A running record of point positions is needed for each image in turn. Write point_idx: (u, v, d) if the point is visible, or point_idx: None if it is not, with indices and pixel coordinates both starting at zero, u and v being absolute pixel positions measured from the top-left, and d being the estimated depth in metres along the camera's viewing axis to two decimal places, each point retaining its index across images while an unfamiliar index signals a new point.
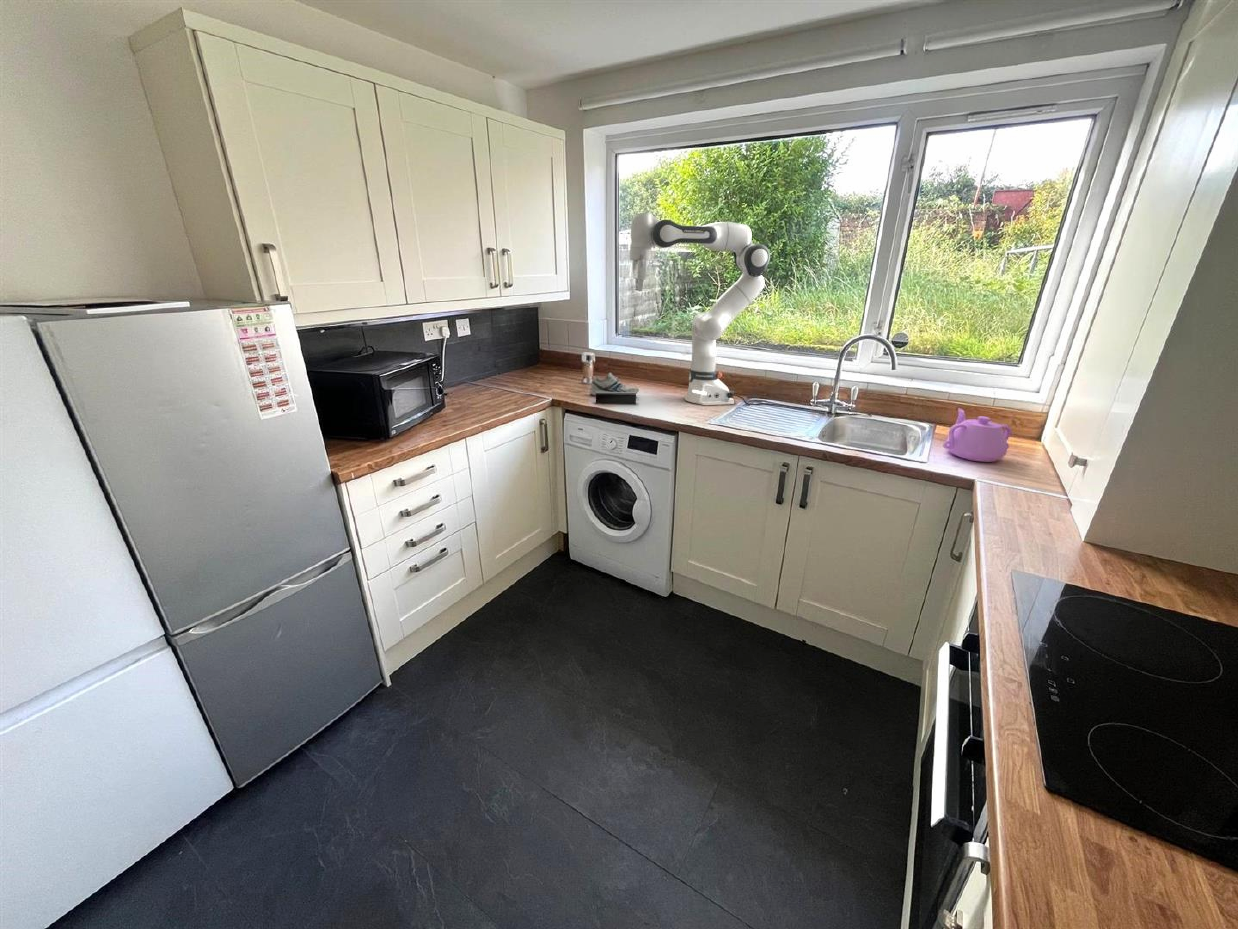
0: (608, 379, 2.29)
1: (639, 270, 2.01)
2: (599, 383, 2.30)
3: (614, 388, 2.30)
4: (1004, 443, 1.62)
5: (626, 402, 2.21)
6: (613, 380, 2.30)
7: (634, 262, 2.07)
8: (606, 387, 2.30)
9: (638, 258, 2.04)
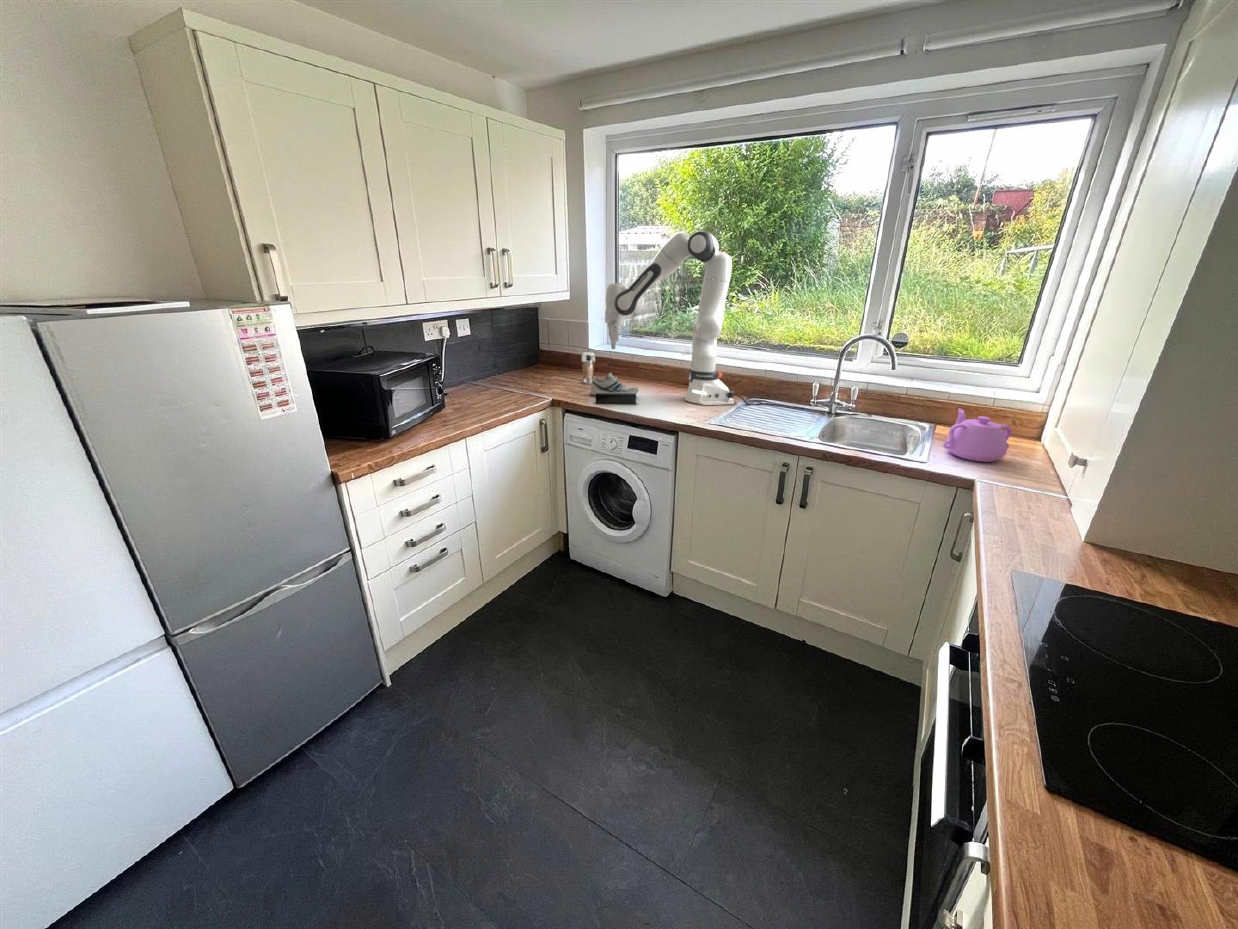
0: (608, 379, 2.29)
1: (612, 333, 2.28)
2: (599, 383, 2.30)
3: (614, 388, 2.30)
4: (1004, 443, 1.62)
5: (626, 402, 2.21)
6: (613, 380, 2.30)
7: (608, 325, 2.35)
8: (605, 387, 2.30)
9: (612, 322, 2.32)
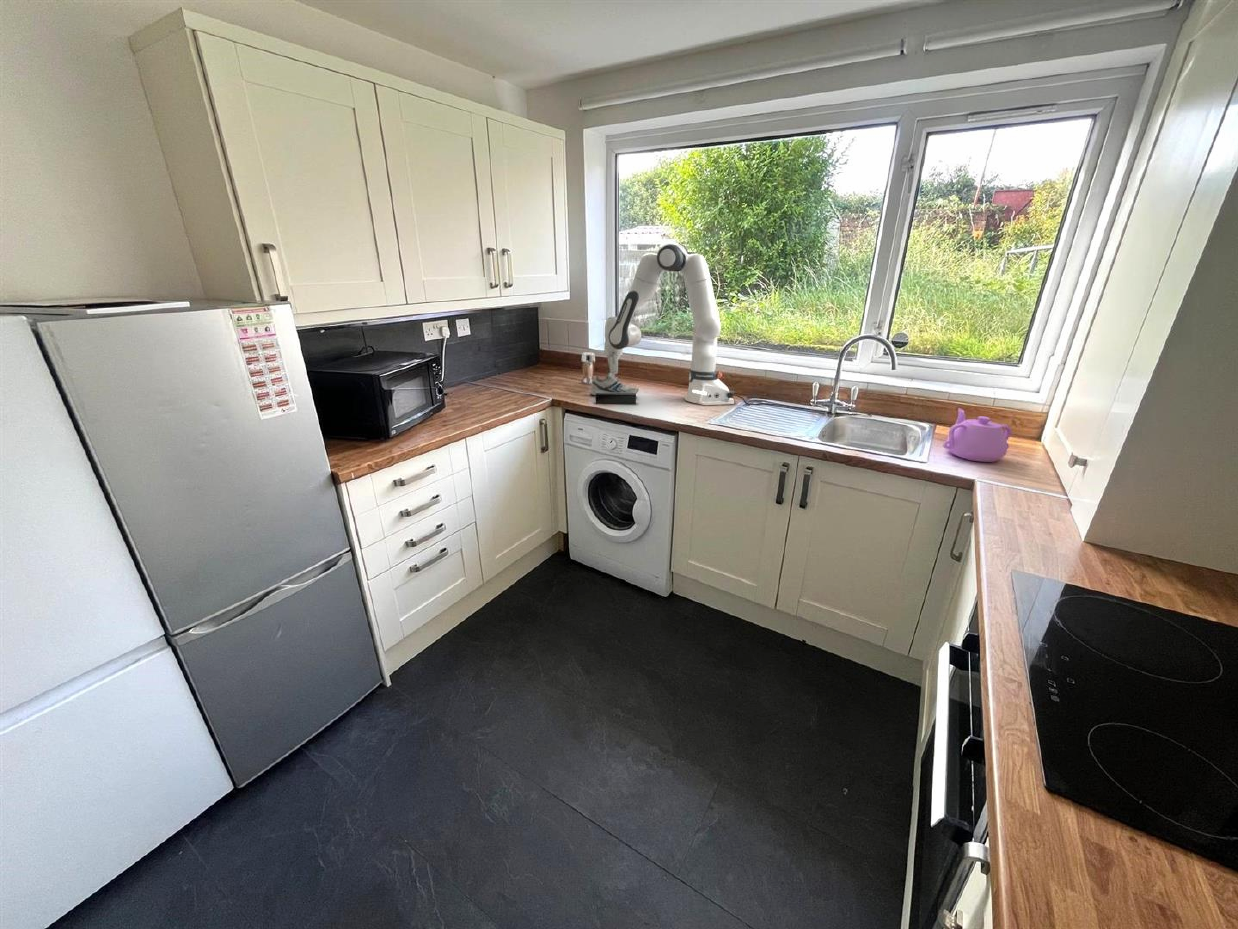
0: (608, 379, 2.29)
1: (611, 366, 2.33)
2: (599, 383, 2.30)
3: (614, 388, 2.30)
4: (1004, 443, 1.62)
5: (626, 402, 2.21)
6: (613, 380, 2.30)
7: (608, 357, 2.39)
8: (605, 387, 2.30)
9: (611, 354, 2.37)
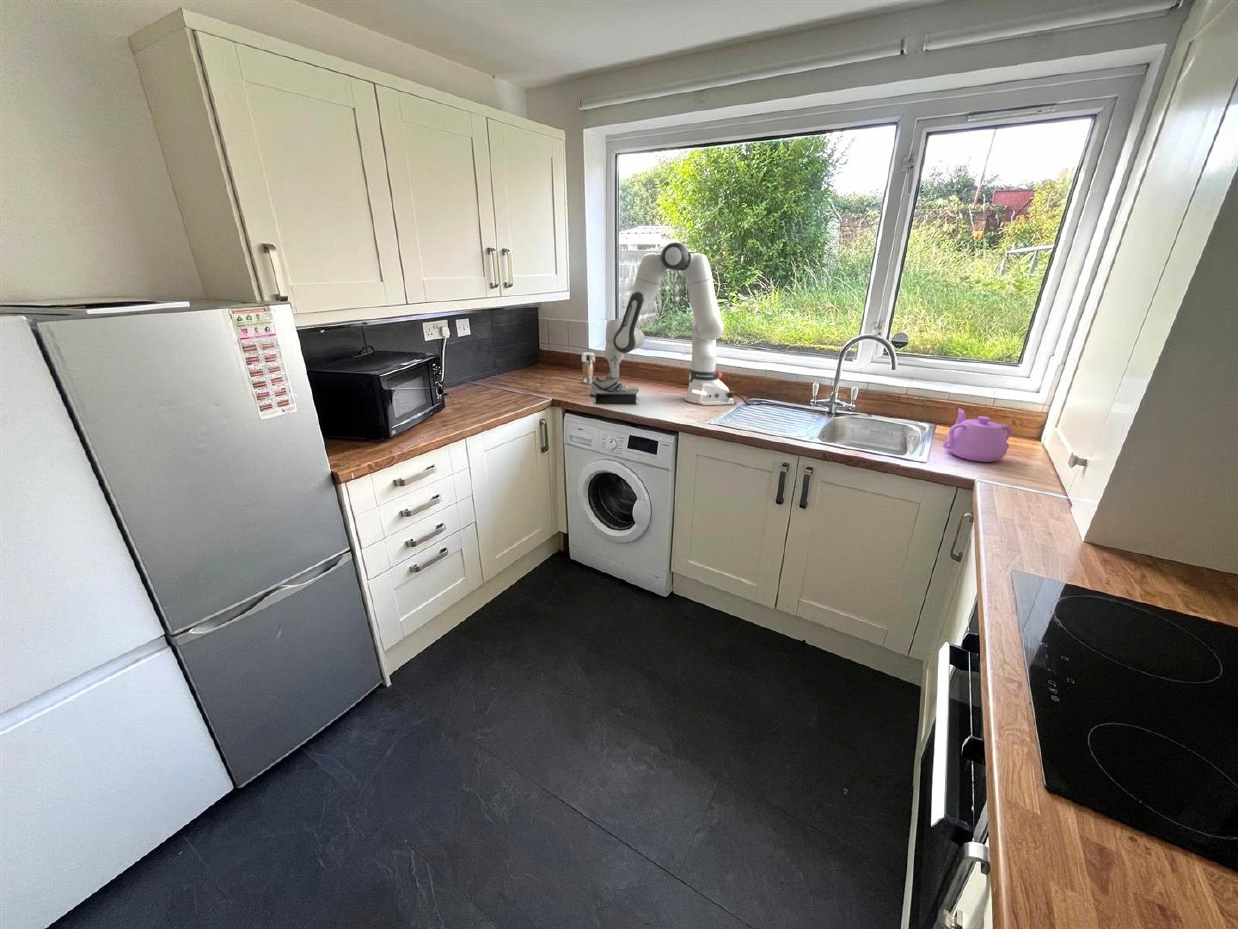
0: (608, 379, 2.29)
1: (612, 370, 2.26)
2: (599, 383, 2.30)
3: (614, 388, 2.29)
4: (1004, 443, 1.62)
5: (626, 402, 2.21)
6: (613, 380, 2.29)
7: (609, 361, 2.33)
8: (605, 388, 2.30)
9: (612, 358, 2.30)
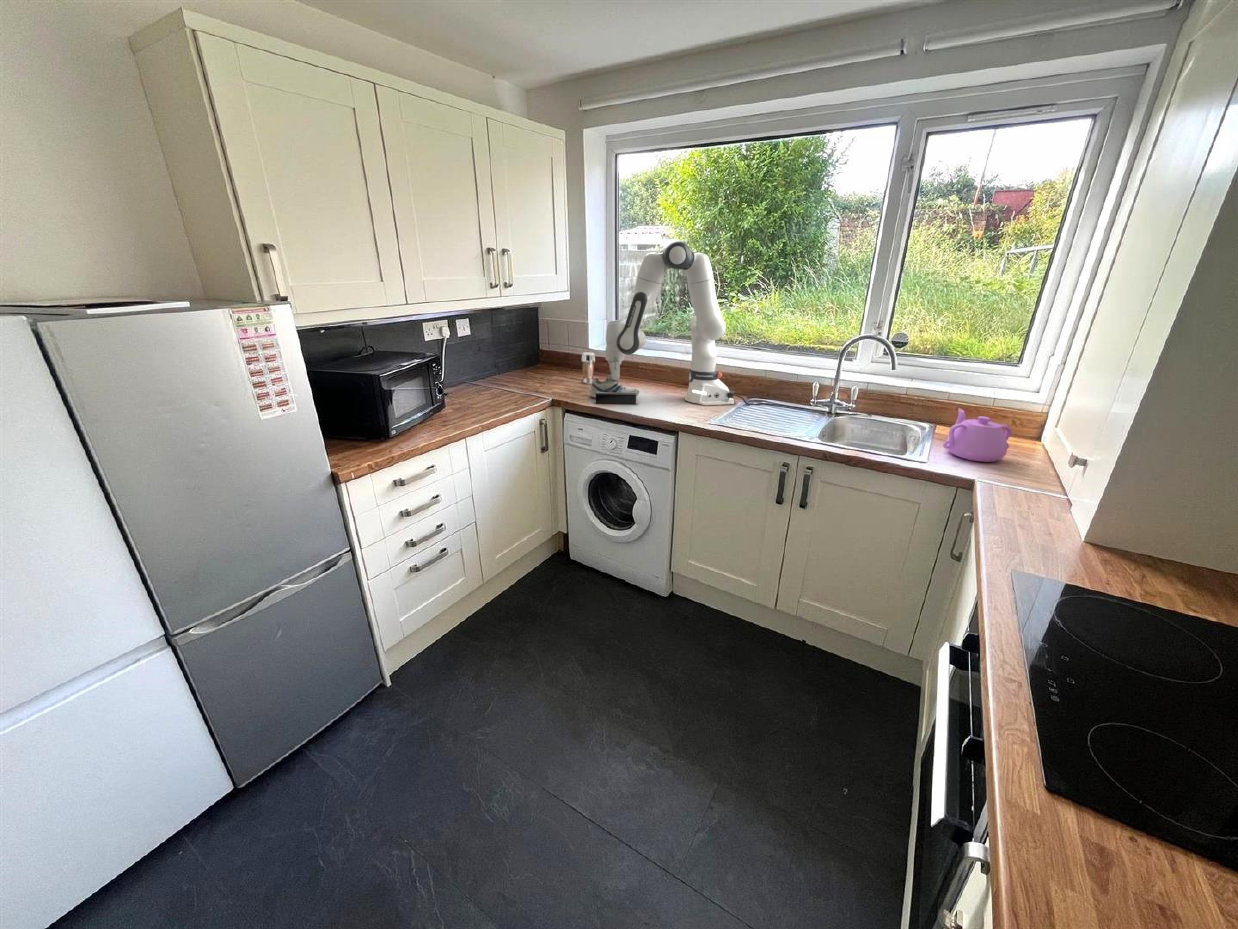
0: (608, 381, 2.25)
1: (613, 372, 2.22)
2: (599, 385, 2.26)
3: (614, 390, 2.25)
4: (1004, 443, 1.62)
5: (626, 402, 2.21)
6: (613, 382, 2.25)
7: (609, 362, 2.29)
8: (605, 390, 2.26)
9: (612, 360, 2.26)
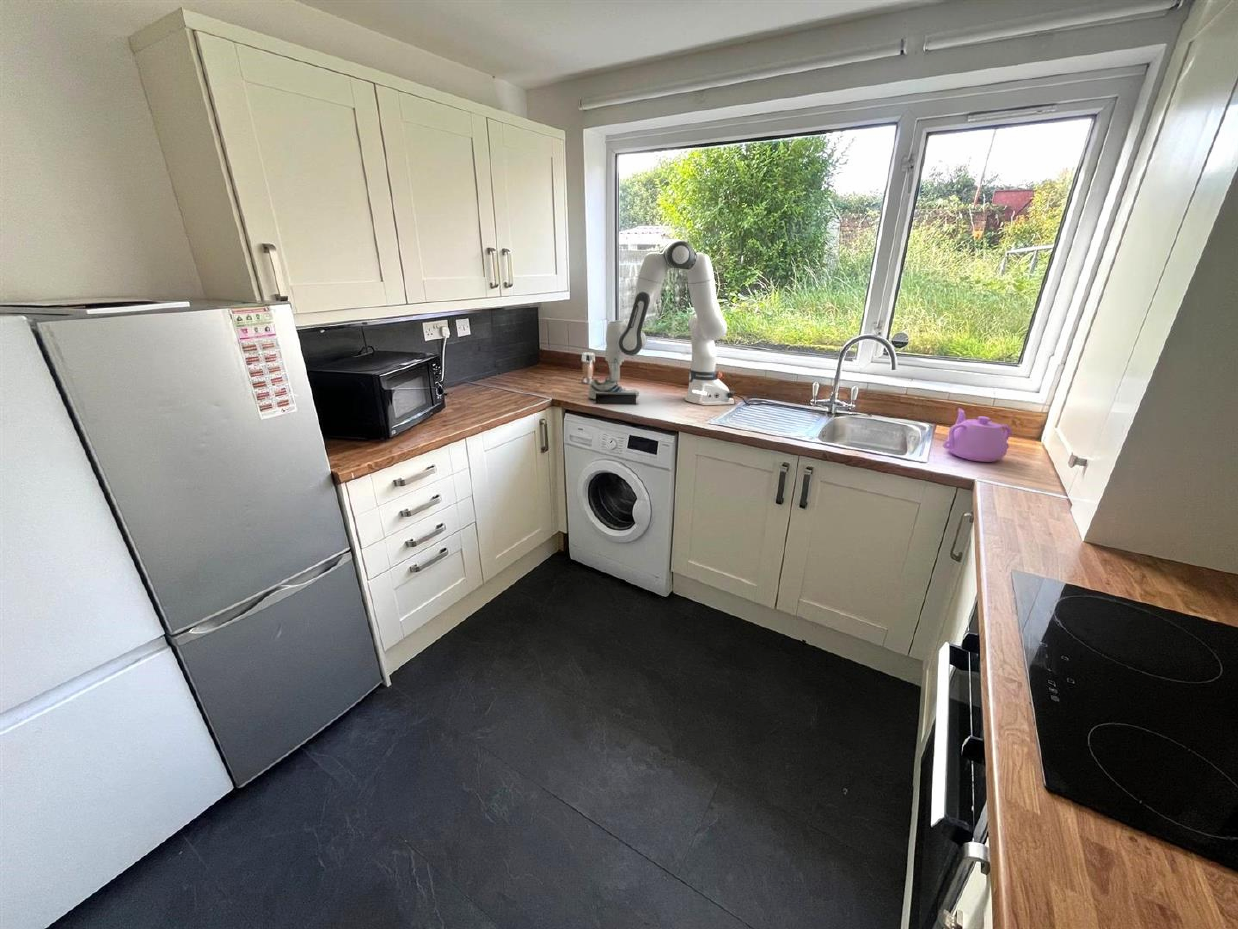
0: (607, 383, 2.22)
1: (613, 373, 2.19)
2: (598, 387, 2.23)
3: None
4: (1004, 443, 1.62)
5: (626, 402, 2.21)
6: (612, 384, 2.22)
7: (609, 363, 2.26)
8: (605, 391, 2.23)
9: (612, 361, 2.23)
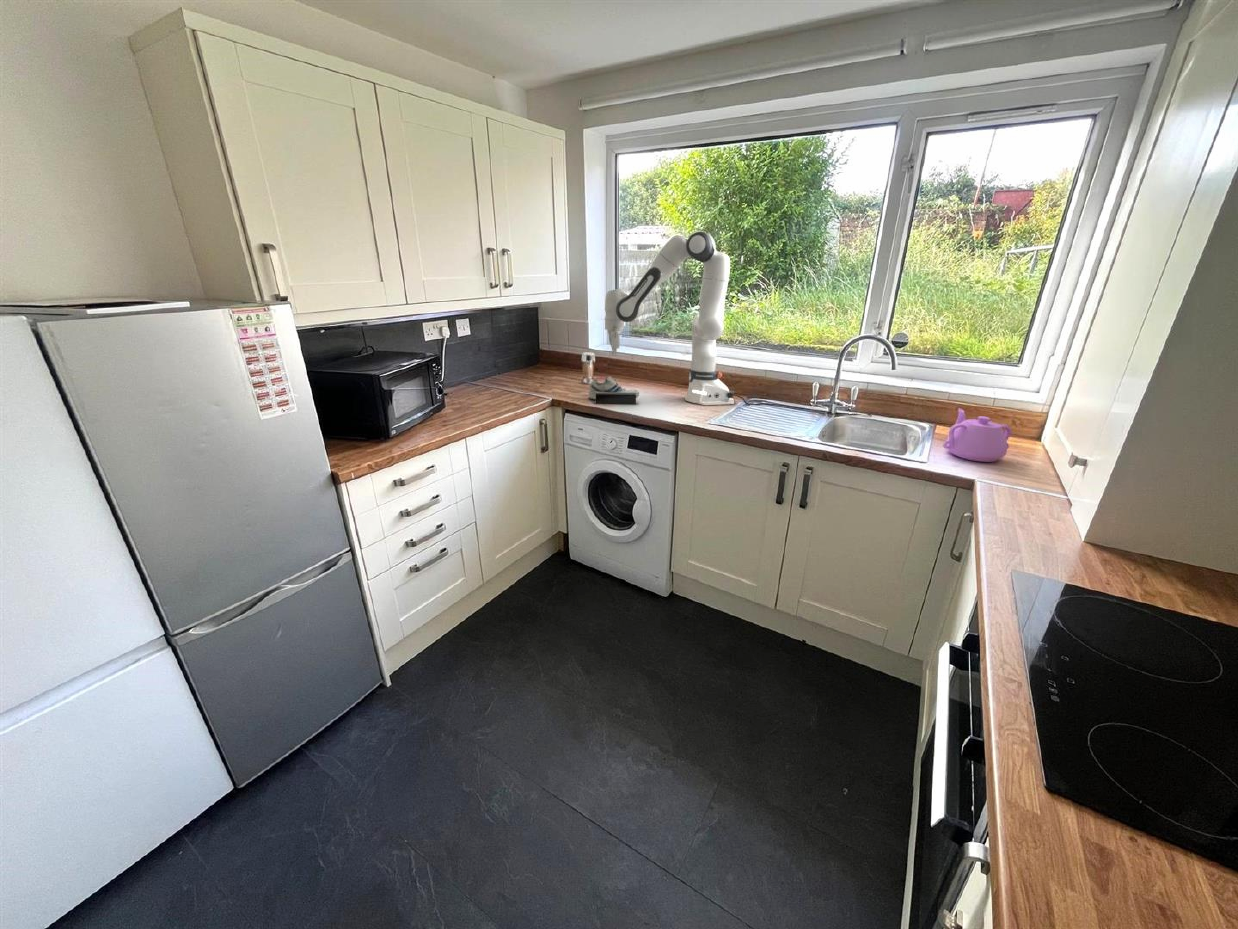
0: (607, 383, 2.22)
1: (613, 340, 2.26)
2: (598, 387, 2.23)
3: None
4: (1004, 443, 1.62)
5: (626, 402, 2.21)
6: (612, 384, 2.22)
7: (609, 332, 2.33)
8: (605, 391, 2.23)
9: (612, 329, 2.30)
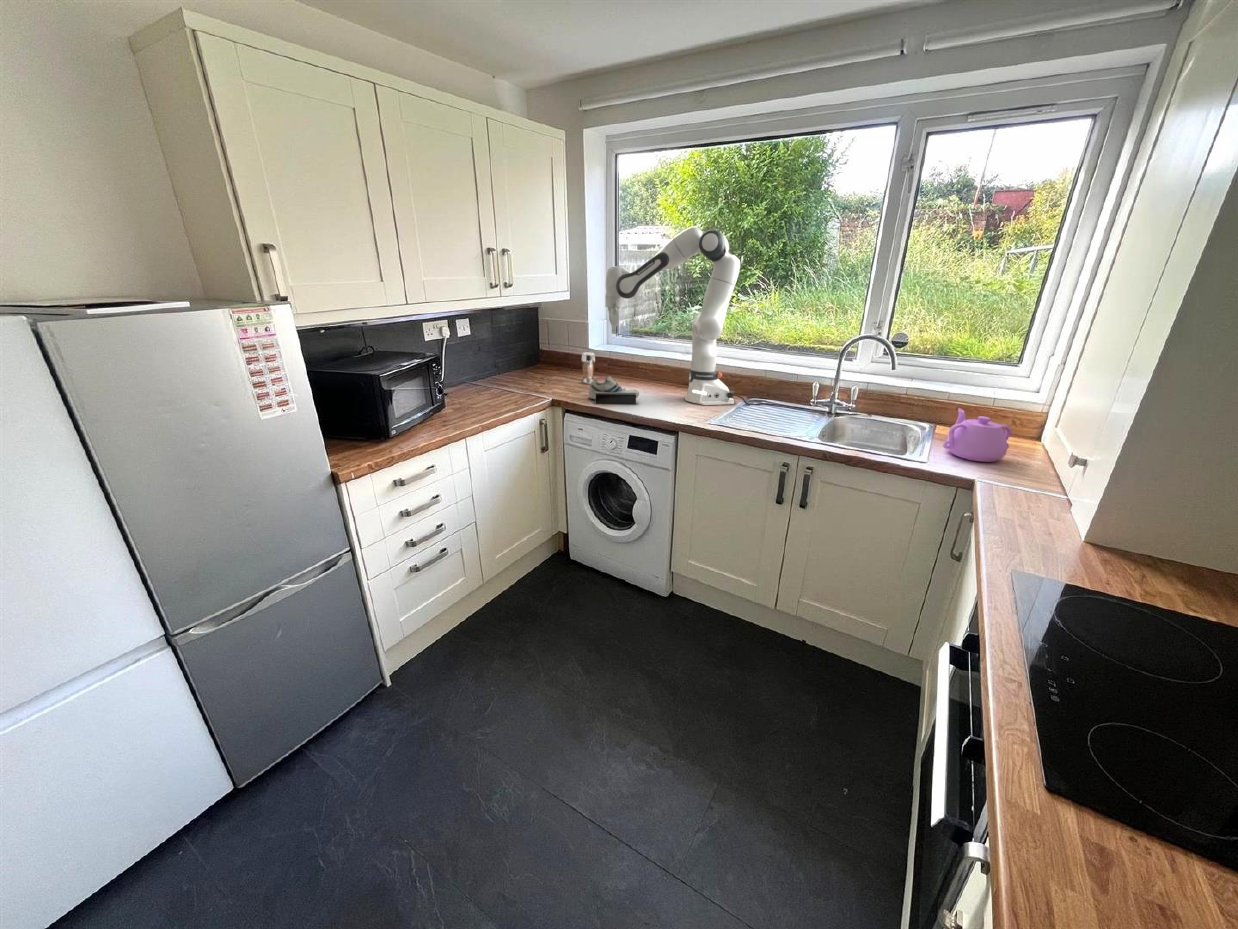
0: (607, 383, 2.22)
1: (612, 317, 2.26)
2: (598, 387, 2.23)
3: None
4: (1004, 443, 1.62)
5: (626, 402, 2.21)
6: (612, 384, 2.22)
7: (609, 309, 2.32)
8: (605, 391, 2.23)
9: (612, 306, 2.29)
